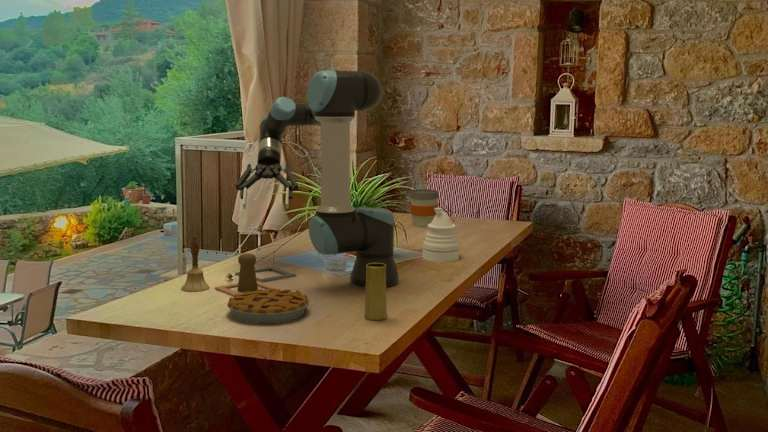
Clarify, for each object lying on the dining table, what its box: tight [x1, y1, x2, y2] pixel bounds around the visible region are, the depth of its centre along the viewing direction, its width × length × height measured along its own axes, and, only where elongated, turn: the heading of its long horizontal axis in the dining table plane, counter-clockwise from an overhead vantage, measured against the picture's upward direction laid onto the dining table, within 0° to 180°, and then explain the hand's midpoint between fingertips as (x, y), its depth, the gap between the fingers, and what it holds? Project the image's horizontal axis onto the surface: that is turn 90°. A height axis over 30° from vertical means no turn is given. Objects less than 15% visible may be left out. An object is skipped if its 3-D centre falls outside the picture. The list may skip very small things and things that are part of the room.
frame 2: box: [234, 266, 297, 283], centre depth 258 cm, size 14×14×1 cm
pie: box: [226, 288, 310, 324], centre depth 216 cm, size 22×22×5 cm
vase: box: [364, 263, 388, 321], centre depth 213 cm, size 6×6×14 cm
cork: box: [237, 252, 259, 293], centre depth 239 cm, size 6×6×11 cm
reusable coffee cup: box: [409, 188, 440, 228], centre depth 348 cm, size 13×13×15 cm
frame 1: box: [214, 281, 281, 298], centre depth 240 cm, size 14×14×1 cm
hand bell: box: [180, 235, 210, 293], centre depth 240 cm, size 8×8×16 cm
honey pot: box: [422, 207, 460, 263], centre depth 285 cm, size 13×13×18 cm
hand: (265, 206), depth 258 cm, fingers open, 13 cm apart
